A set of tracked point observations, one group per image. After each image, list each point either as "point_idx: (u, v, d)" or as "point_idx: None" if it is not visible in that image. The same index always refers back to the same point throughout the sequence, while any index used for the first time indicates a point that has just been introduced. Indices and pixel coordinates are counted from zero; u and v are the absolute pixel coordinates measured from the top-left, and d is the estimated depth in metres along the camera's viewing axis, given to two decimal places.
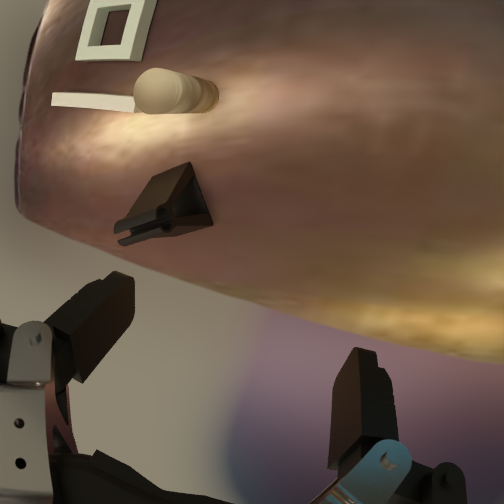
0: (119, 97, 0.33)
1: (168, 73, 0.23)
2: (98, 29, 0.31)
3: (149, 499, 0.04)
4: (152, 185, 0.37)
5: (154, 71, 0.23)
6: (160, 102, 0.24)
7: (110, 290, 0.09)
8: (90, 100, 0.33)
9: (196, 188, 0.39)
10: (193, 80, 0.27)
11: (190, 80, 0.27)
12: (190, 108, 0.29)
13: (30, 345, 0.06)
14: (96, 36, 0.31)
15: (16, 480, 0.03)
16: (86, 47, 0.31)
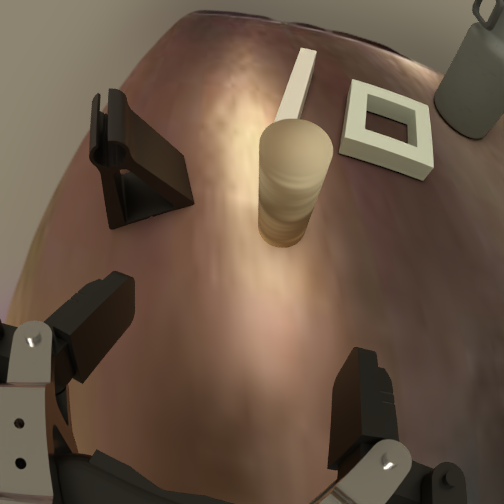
0: None
1: (322, 167, 0.17)
2: (386, 109, 0.32)
3: (149, 499, 0.04)
4: (168, 151, 0.28)
5: (327, 149, 0.17)
6: (276, 153, 0.17)
7: (110, 290, 0.09)
8: (297, 87, 0.30)
9: (158, 210, 0.29)
10: (306, 210, 0.22)
11: (306, 205, 0.21)
12: (264, 203, 0.22)
13: (30, 345, 0.06)
14: (378, 106, 0.32)
15: (16, 480, 0.03)
16: (366, 92, 0.31)
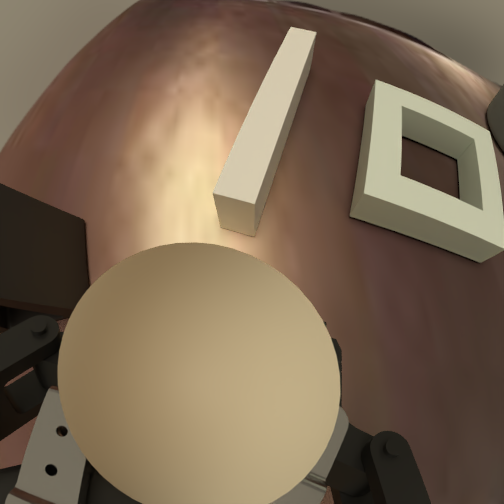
0: (265, 158, 0.15)
1: (279, 492, 0.03)
2: (429, 134, 0.19)
3: None
4: (43, 226, 0.14)
5: (316, 408, 0.04)
6: (105, 422, 0.04)
7: None
8: (277, 91, 0.16)
9: None
10: None
11: None
12: None
13: None
14: (416, 127, 0.19)
15: (41, 484, 0.03)
16: (399, 103, 0.18)
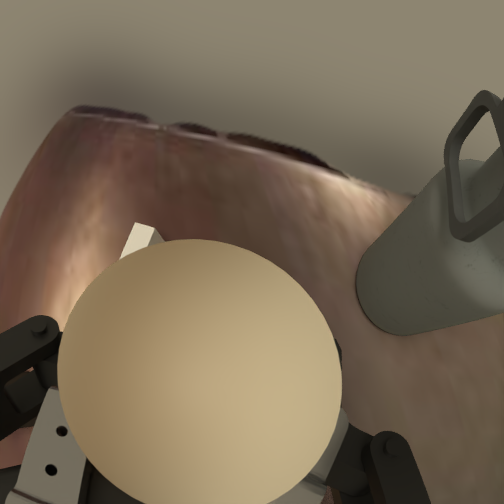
0: None
1: (280, 490, 0.03)
2: None
3: None
4: (5, 386, 0.21)
5: (318, 405, 0.04)
6: (105, 419, 0.04)
7: None
8: None
9: None
10: None
11: None
12: None
13: None
14: None
15: (41, 484, 0.03)
16: None
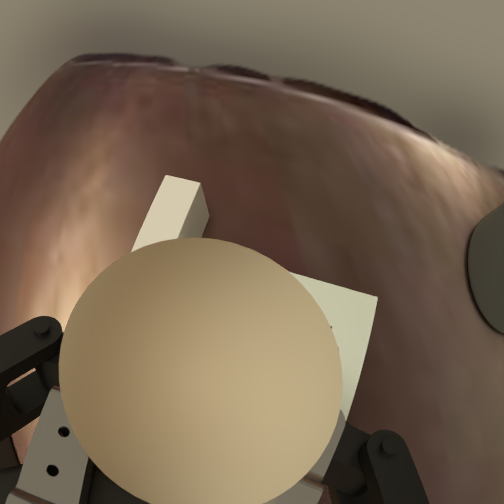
0: None
1: (283, 487, 0.04)
2: None
3: None
4: None
5: (319, 401, 0.04)
6: (106, 418, 0.04)
7: None
8: None
9: None
10: None
11: None
12: None
13: None
14: None
15: (42, 484, 0.03)
16: None
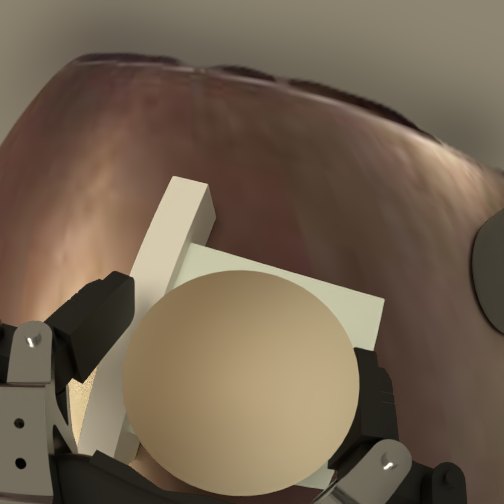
0: (113, 438, 0.11)
1: (312, 469, 0.05)
2: None
3: (149, 499, 0.04)
4: None
5: (341, 400, 0.05)
6: (168, 420, 0.05)
7: (110, 290, 0.09)
8: (129, 337, 0.13)
9: None
10: None
11: None
12: None
13: (30, 345, 0.06)
14: None
15: (16, 480, 0.03)
16: None
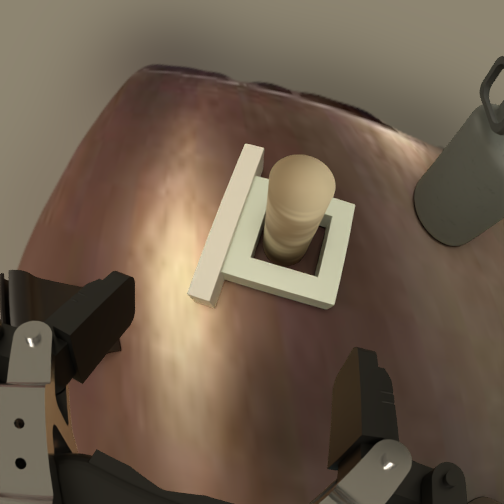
0: (216, 271, 0.26)
1: (325, 204, 0.19)
2: None
3: (149, 499, 0.04)
4: None
5: (330, 186, 0.20)
6: (283, 189, 0.20)
7: (110, 290, 0.09)
8: (228, 216, 0.28)
9: None
10: (308, 236, 0.24)
11: (309, 233, 0.23)
12: (270, 229, 0.25)
13: (30, 345, 0.06)
14: None
15: (16, 480, 0.03)
16: None
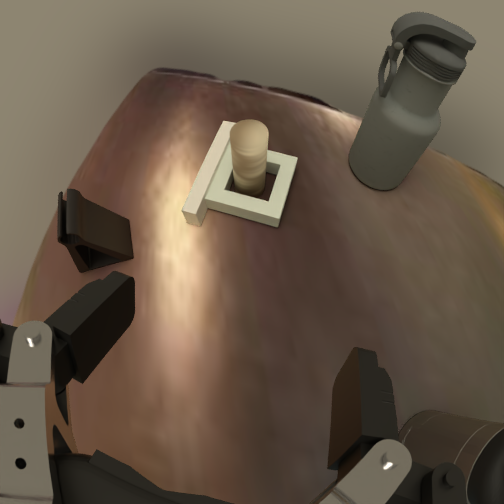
0: (201, 196, 0.40)
1: (261, 144, 0.33)
2: None
3: (149, 499, 0.04)
4: (114, 222, 0.39)
5: (265, 135, 0.33)
6: (237, 137, 0.33)
7: (110, 290, 0.09)
8: (210, 164, 0.41)
9: (110, 261, 0.41)
10: (258, 170, 0.38)
11: (257, 167, 0.37)
12: (234, 167, 0.38)
13: (30, 345, 0.06)
14: None
15: (16, 480, 0.03)
16: None
